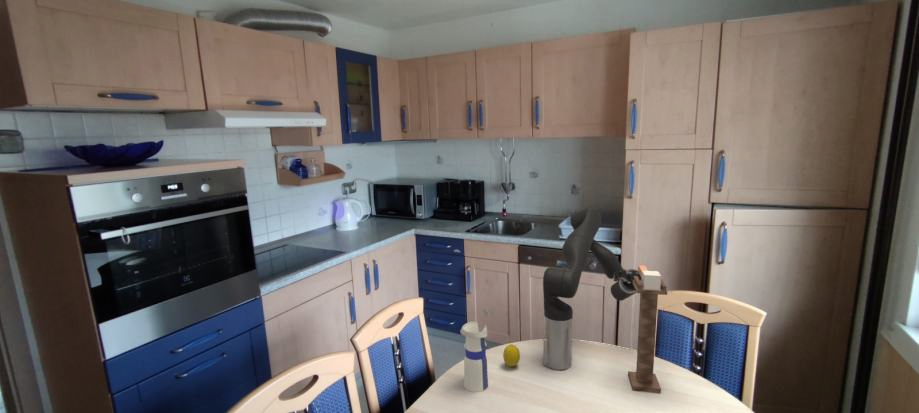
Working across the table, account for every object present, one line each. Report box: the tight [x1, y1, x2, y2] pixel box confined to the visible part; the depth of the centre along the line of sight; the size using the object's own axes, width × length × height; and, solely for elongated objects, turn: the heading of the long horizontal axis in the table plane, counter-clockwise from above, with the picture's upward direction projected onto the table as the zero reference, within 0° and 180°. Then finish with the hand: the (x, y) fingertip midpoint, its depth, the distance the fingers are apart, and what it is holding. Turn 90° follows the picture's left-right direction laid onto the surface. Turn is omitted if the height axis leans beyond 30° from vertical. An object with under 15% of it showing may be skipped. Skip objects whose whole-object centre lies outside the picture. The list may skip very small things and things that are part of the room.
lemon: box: [502, 344, 521, 368], centre depth 142 cm, size 6×6×8 cm
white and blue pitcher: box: [460, 306, 490, 393], centre depth 131 cm, size 8×9×25 cm
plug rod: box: [637, 264, 662, 291], centre depth 129 cm, size 4×16×4 cm, turn 167°
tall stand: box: [627, 276, 668, 394], centre depth 128 cm, size 8×8×33 cm
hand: (639, 273), depth 141 cm, fingers open, 8 cm apart
